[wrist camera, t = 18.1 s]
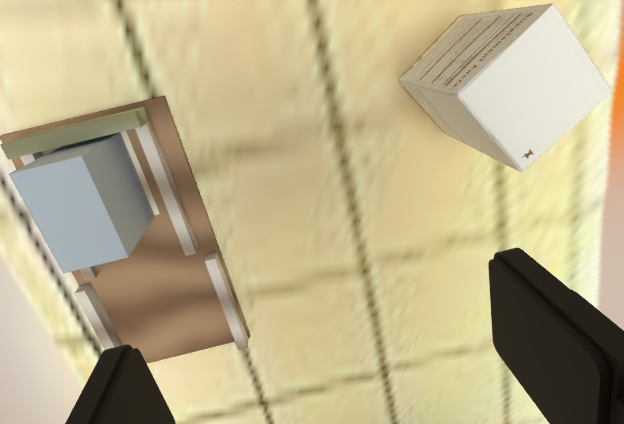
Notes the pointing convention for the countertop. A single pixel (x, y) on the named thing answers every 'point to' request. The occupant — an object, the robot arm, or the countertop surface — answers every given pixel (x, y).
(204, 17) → the countertop surface
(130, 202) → the slider block
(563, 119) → the supplement box
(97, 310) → the track
